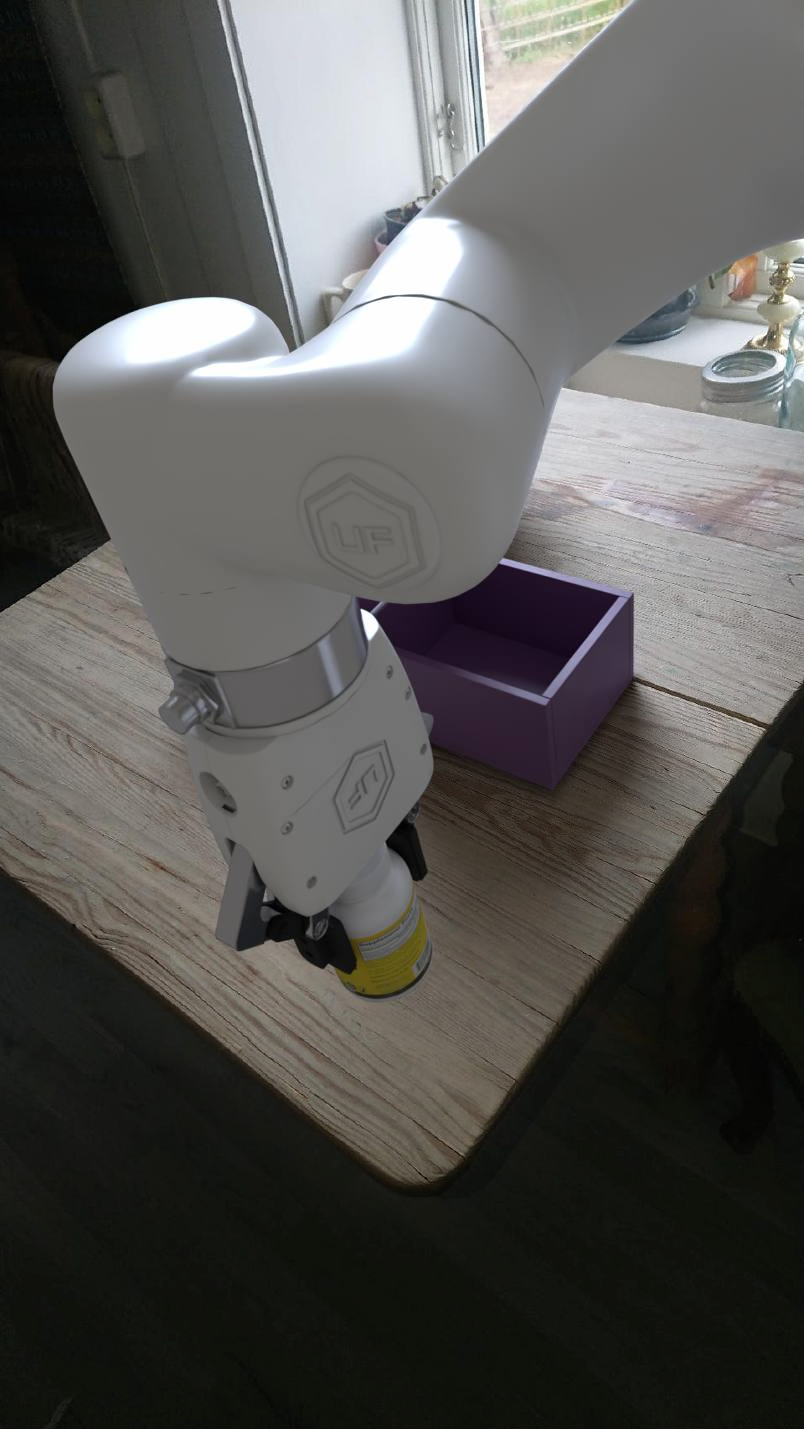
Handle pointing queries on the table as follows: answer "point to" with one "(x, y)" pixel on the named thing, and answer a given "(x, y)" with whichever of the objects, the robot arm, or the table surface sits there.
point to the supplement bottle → (384, 930)
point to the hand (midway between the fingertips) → (366, 909)
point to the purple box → (517, 666)
